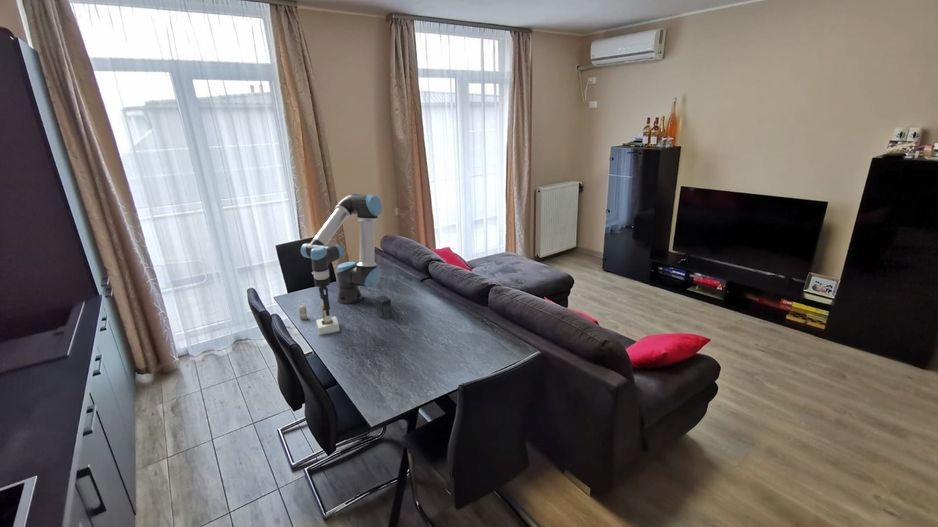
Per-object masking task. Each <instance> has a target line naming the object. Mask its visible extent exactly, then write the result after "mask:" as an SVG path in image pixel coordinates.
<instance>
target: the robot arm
mask: <svg viewBox="0 0 938 527" xmlns="http://www.w3.org/2000/svg"><path fill="white" fill-rule="evenodd" d="M333 209H334V211H333V212H332V214H330V216H329V217H328V218H327V220H326V221H325V222H324V224H323V225H322V227H321V228H319V230H318V231H317V233H316V235H314V236H313V238H312V240H310V242H307V243H306V242H305V243H303V244H302V245H301V247H300V254H301V256H302V257H304V258H308V259H311V267H312V272H311V274H312V275H313V279H314V280H313V282H314V286H315V287H317V288H318V291H319V297H320V298H319V299H320V303H321V304H320V306H321V305H322V304H324V309H323V311H324V313H325V321H326V322H327V321H331V317H332V316H331V315H332V314H331V306H330V300H329V289H328V286H330V285H331V277H330V276H331V275H330V267H329V264H330V263H332V262H333V263H334V262H335V261H338V260H339V259H341V258H342V257H343V256H344V254H345V250H344V248H343V247H342V246H341V245H340V244H333V245H328V244H329V243H330V241H331V240H332V238H333V237H334V235H335V234H336V233H337V231H338V230H339V229H340V227H341V226H342V225H343V223H344V222H345V221H346V220H348V219H349V218H350V217H351V216H352V215H356V219H358V220H359V257H358V258H359V261H358V262H355V261H347V262H343V263H339V264H338V265H337V266H336V276H337V277H336V278H337V284H338V290H337V294H336V302H338V303H340V304H344V305H345V304H346V305H348V304H354V303H358V302H359V301H361V300H362V299H363V293H362V291H361V289H360V287H365V288H375V287H376V286H377V285H378V283H379V282H380V280H381V276H382V274H381V270H380V269H379V268H378V265H377V263H376V262H375V249H376V248H375V245H376V244H375V243H376V242H375V241H376V240H375V239H376V236H375V235H376V221H377V220H378V219H379V218H378V217H379V216H380V215H381V214H382V211H383V204H382V201H381V199H380V198H379V197H378V196H377V195H374V194H361V193H352V194H349V195H346V196H344V198H342V199H341V200H339V202H338V203H337V204H336V205H335V207H334V208H333ZM326 307H327V308H326Z"/></svg>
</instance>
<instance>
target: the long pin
mask: <svg viewBox="0 0 938 527" xmlns="http://www.w3.org/2000/svg"><path fill="white" fill-rule="evenodd" d="M320 307H321V312H322V313H321V314H322V319H323V322H324V325H326V324H331V321H327V322H326V321H325V313H324V311H323V309H324V304H322V305H321V304H320ZM326 308H327V307H326Z"/></svg>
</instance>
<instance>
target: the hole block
mask: <svg viewBox="0 0 938 527" xmlns="http://www.w3.org/2000/svg"><path fill="white" fill-rule="evenodd" d="M315 322H316V328H317V332H318V335H319V336H321V335H325V334H331V333H337V332H340V325H339V321H338V318H337V317H336V316H331V324H326V325H324V322H323V318H320V319H316V321H315Z"/></svg>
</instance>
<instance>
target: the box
mask: <svg viewBox="0 0 938 527" xmlns="http://www.w3.org/2000/svg"><path fill="white" fill-rule="evenodd" d="M374 298H375V308H376V315H377V316H379V317H380V318H381V319H383V320H385V319H388V318H391V317H392V316H393V314H392V301H391V300H392V299H391V298H389V297H387V296H386V295H380V296H377V297H374Z"/></svg>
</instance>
